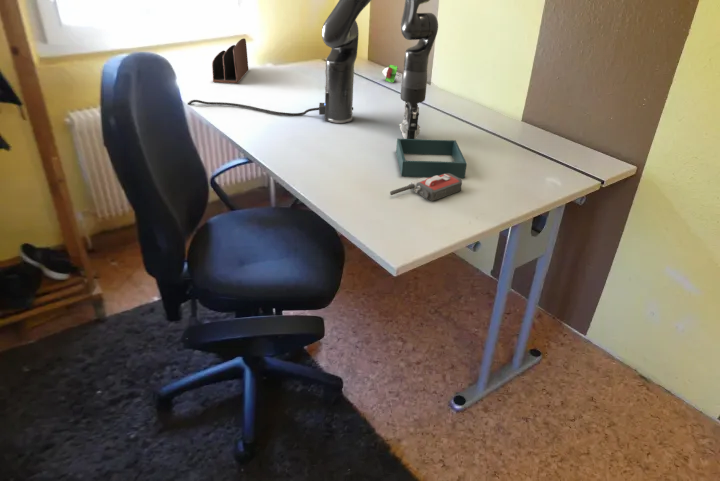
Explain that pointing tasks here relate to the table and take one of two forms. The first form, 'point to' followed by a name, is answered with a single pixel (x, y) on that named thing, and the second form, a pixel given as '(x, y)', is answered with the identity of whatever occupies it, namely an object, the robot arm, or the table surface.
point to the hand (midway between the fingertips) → (409, 136)
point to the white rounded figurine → (404, 129)
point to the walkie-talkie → (434, 186)
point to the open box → (430, 167)
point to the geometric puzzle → (390, 73)
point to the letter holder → (231, 64)
